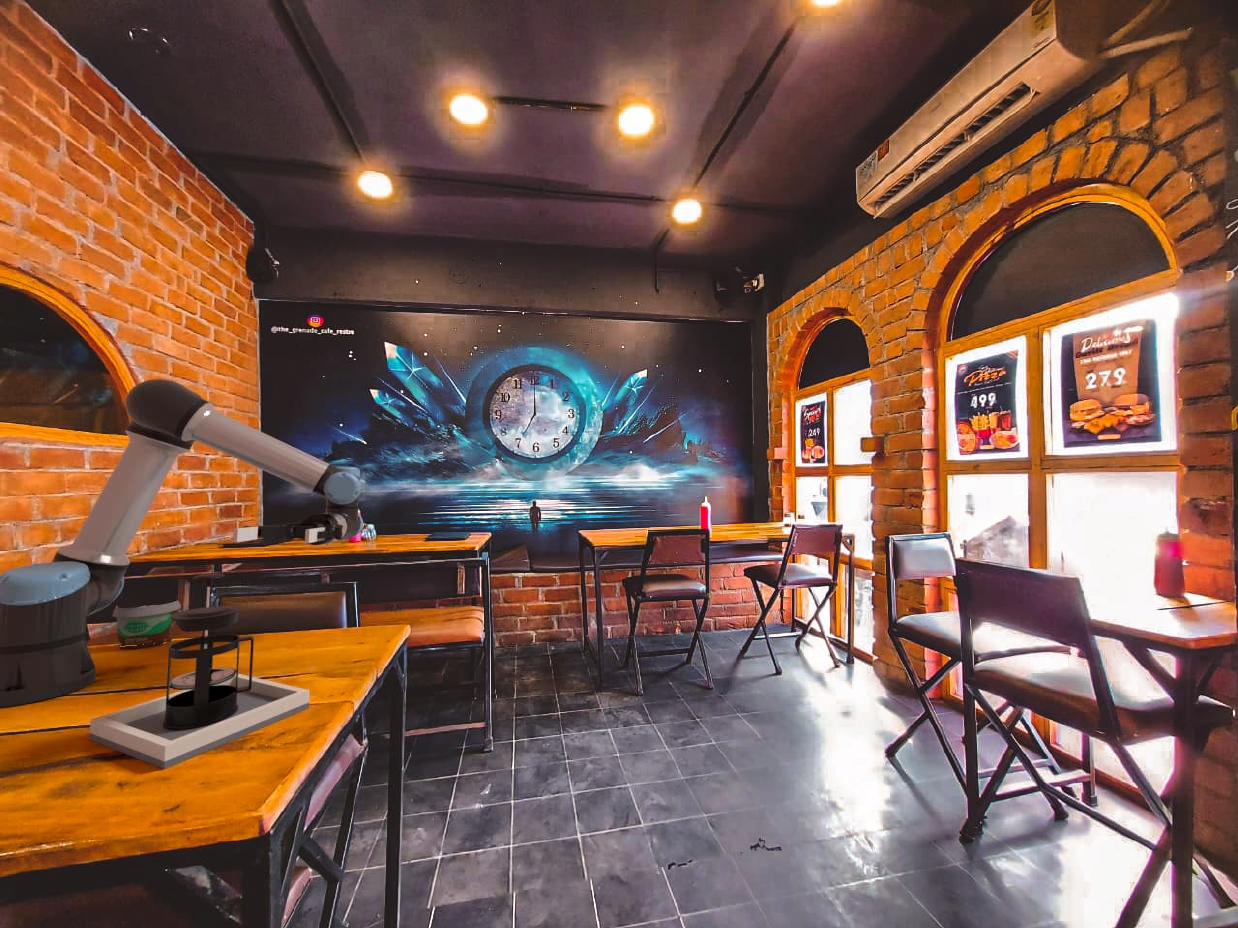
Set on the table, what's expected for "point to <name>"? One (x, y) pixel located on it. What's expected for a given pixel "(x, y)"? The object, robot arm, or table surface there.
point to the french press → (204, 667)
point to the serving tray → (164, 748)
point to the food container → (145, 625)
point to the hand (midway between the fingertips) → (271, 535)
